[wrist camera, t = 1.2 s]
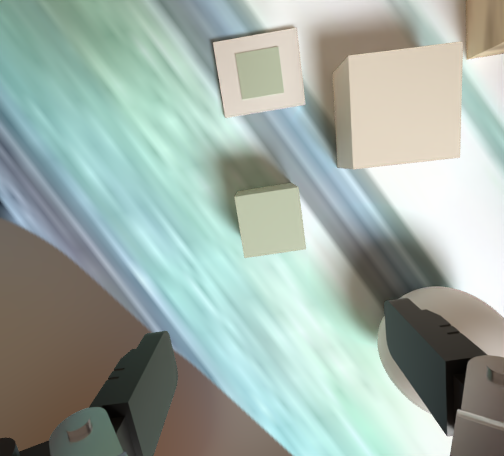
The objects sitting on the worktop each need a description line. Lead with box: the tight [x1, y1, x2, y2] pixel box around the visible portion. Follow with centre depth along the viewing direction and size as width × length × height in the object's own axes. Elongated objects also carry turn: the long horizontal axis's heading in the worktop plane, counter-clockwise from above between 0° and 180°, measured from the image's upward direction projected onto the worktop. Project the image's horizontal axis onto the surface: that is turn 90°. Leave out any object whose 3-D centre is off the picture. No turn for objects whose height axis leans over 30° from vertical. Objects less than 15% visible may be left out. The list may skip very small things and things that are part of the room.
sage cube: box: [234, 183, 306, 258], centre depth 27 cm, size 5×5×5 cm
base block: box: [333, 41, 463, 169], centre depth 26 cm, size 8×8×5 cm
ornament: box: [377, 286, 504, 414], centre depth 26 cm, size 10×10×12 cm
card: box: [213, 28, 305, 118], centre depth 27 cm, size 7×6×1 cm
